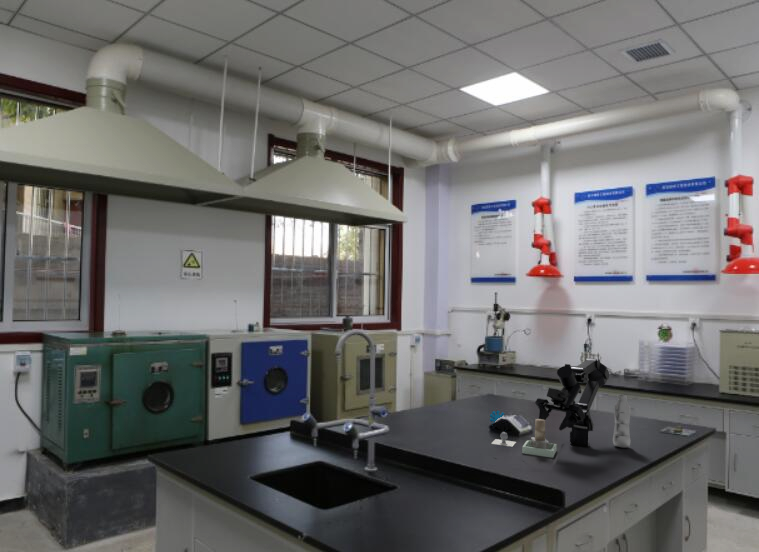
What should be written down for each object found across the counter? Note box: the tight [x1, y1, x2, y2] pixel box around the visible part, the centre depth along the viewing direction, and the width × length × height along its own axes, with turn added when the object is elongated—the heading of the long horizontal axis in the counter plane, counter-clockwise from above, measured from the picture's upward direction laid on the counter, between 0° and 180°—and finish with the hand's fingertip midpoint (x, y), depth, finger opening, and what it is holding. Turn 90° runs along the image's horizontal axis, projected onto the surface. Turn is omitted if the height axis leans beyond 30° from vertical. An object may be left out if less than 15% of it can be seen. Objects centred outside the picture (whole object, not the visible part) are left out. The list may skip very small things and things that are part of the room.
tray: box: [521, 439, 558, 458], centre depth 202 cm, size 11×11×4 cm
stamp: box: [530, 418, 550, 449], centre depth 202 cm, size 5×5×12 cm
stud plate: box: [491, 431, 517, 448], centre depth 213 cm, size 8×8×5 cm
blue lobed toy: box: [489, 410, 505, 425], centre depth 244 cm, size 11×6×10 cm
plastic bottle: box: [612, 394, 632, 449], centre depth 220 cm, size 6×7×20 cm
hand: (549, 427), depth 206 cm, fingers open, 9 cm apart
